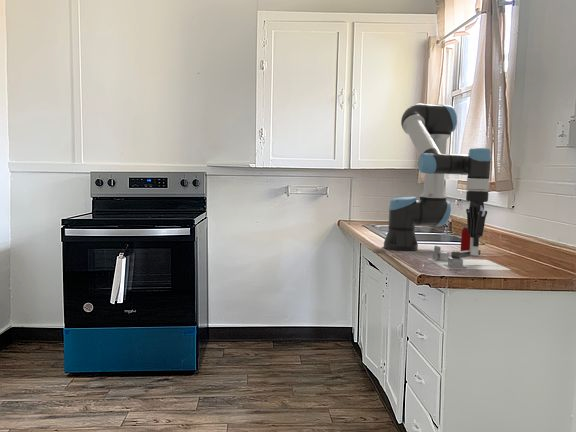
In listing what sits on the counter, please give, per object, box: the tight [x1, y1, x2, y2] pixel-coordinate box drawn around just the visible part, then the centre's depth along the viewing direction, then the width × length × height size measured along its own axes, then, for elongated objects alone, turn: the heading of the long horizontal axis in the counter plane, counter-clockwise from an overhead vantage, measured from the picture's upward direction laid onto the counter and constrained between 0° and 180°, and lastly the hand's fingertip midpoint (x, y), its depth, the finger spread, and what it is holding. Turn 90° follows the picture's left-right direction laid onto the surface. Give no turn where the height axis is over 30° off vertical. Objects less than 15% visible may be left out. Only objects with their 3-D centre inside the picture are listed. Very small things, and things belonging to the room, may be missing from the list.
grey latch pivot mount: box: [444, 256, 467, 270], centre depth 182 cm, size 6×6×3 cm
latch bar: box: [450, 249, 481, 259], centre depth 186 cm, size 16×3×2 cm, turn 128°
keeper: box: [432, 245, 450, 261], centre depth 195 cm, size 4×5×5 cm
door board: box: [428, 258, 511, 271], centre depth 188 cm, size 20×24×1 cm
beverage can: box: [460, 225, 470, 251], centre depth 216 cm, size 7×7×12 cm
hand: (473, 254), depth 185 cm, fingers closed
